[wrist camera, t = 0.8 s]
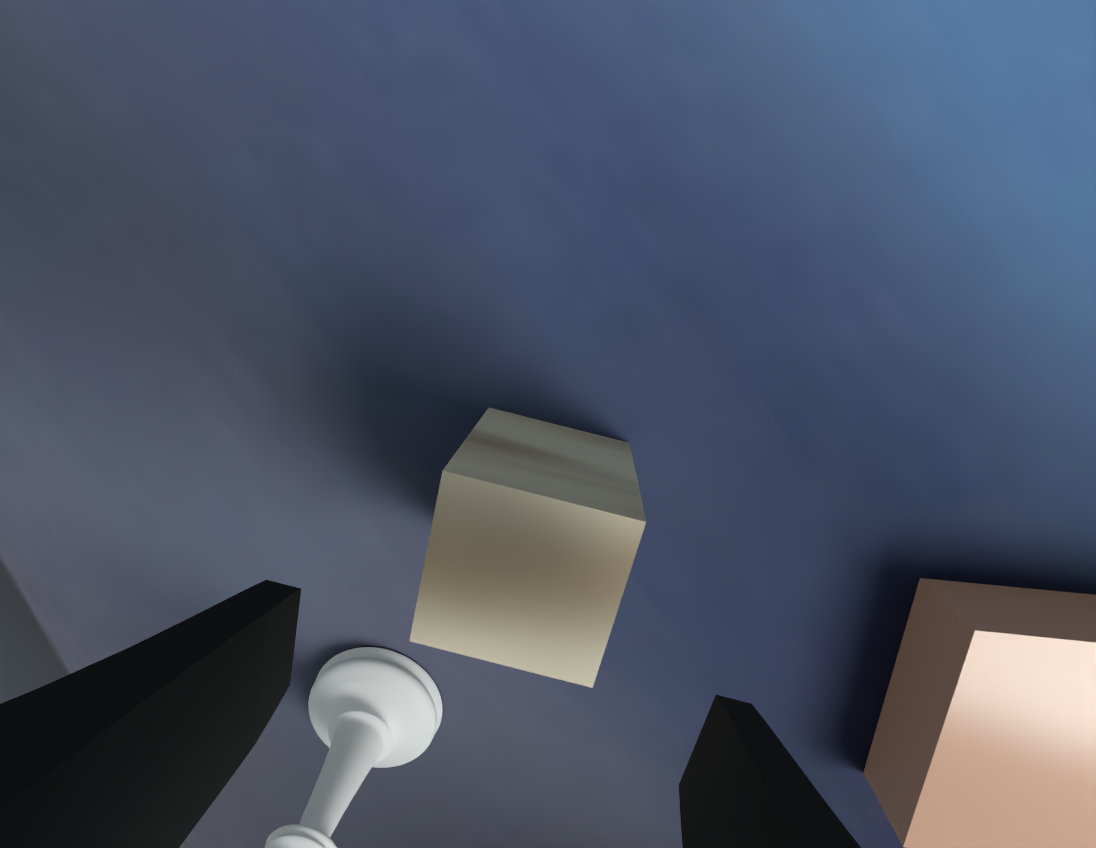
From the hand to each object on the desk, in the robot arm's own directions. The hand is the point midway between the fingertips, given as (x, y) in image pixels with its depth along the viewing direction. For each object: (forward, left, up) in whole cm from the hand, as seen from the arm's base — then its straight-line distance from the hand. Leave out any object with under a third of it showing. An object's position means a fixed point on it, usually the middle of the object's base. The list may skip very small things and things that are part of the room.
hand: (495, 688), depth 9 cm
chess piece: (-10, +4, -9) cm, 14 cm away
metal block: (0, 0, -9) cm, 9 cm away
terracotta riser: (-3, -17, -9) cm, 19 cm away
